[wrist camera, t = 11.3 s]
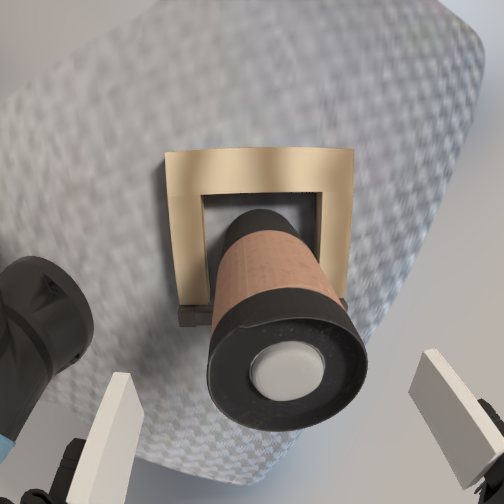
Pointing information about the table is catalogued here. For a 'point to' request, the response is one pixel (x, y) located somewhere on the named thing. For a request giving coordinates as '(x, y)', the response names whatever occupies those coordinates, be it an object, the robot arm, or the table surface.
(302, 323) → the travel mug
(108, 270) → the table surface
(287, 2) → the table surface
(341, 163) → the wooden arch frame
